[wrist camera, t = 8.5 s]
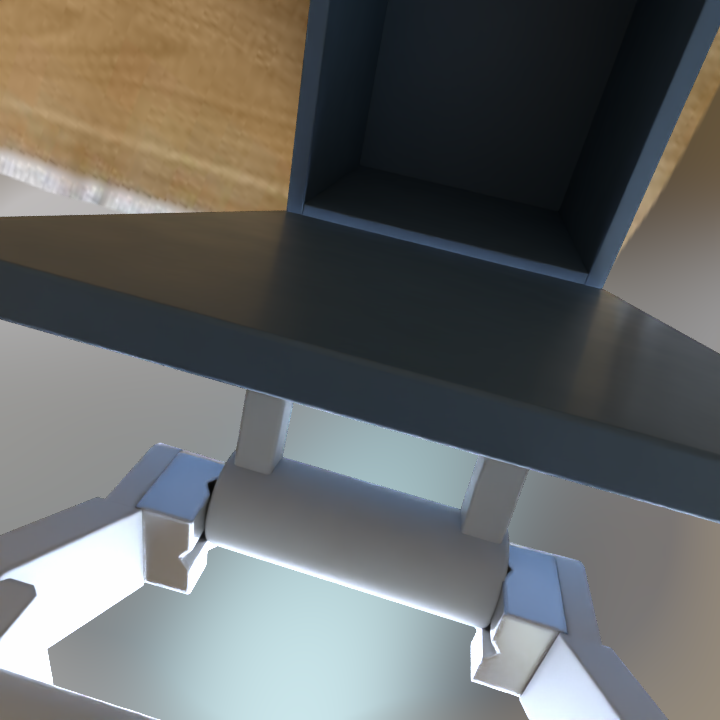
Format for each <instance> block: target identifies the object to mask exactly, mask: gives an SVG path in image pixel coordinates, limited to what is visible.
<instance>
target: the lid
mask: <svg viewBox="0 0 720 720" xmlns="http://www.w3.org/2000/svg"><path fill="white" fill-rule="evenodd" d="M0 319H1V320H5V321H8V322H11V323H15V324H19V325H22V326H26V327H29V328H33V329H36V330H40V331H43V332H47V333H50V334H54V335H57V336H61V337H64V338H68V339H71V340H75V341H78V342H82V343H86V344H89V345H93V346H96V347H100V348H103V349H107V350H110V351H114V352H117V353H121V354H124V355H128V356H131V357H135V358H138V359H142V360H145V361H149V362H152V363H156V364H159V365H163V366H167V367H170V368H174V369H177V370H181V371H185V372H188V373H191V374H195V375H198V376H202V377H205V378H209V379H212V380H216V381H219V382H223V383H227V384H230V385H234V386H237V387H240V388H244V389H247V390H246V395H245V401H244V407H243V413H242V419H241V425H240V430H239V437H238V442H237V448H236V450H235V451H234V452H233V453H232V455H231V456H230V457H229V459H228V461H227V462H226V463H225V465H224V467H223V469H222V471H221V473H220V475H219V477H218V479H217V481H216V484H215V486H214V489H213V492H212V495H211V498H210V502H209V506H208V510H207V515H206V522H205V537H206V539H207V541H209V542H210V543H211V544H213V545H217V546H220V547H223V548H226V549H229V550H232V551H236V552H239V553H242V554H245V555H248V556H252V557H255V558H258V559H261V560H265V561H268V562H270V563H274V564H277V565H280V566H283V567H287V568H290V569H293V570H296V571H299V572H302V573H306V574H308V575H312V576H315V577H318V578H321V579H324V580H327V581H331V582H334V583H337V584H340V585H344V586H347V587H350V588H353V589H356V590H359V591H363V592H366V593H369V594H372V595H375V596H378V597H381V598H385V599H388V600H391V601H394V602H398V603H401V604H404V605H407V606H410V607H413V608H416V609H419V610H423V611H426V612H429V613H432V614H435V615H439V616H442V617H445V618H448V619H451V620H454V621H457V622H461V623H464V624H467V625H470V626H474V627H476V628H486V627H487V626H488V625H489V624H490V619H491V617H492V615H493V613H494V610H495V608H496V605H497V602H498V598H499V595H500V591H501V587H502V582H503V581H505V579H506V576H507V570H508V563H509V535H508V529H507V528H508V526H509V523H510V520H511V517H512V515H513V512H514V509H515V507H516V504H517V501H518V498H519V496H520V493H521V490H522V487H523V485H524V482H525V480H526V476H527V474H528V471H529V470H533V471H537V472H540V473H544V474H547V475H551V476H554V477H558V478H561V479H565V480H569V481H572V482H576V483H579V484H582V485H586V486H589V487H593V488H596V489H600V490H604V491H607V492H611V493H614V494H618V495H621V496H625V497H628V498H632V499H635V500H639V501H642V502H646V503H650V504H653V505H656V506H660V507H664V508H667V509H670V510H674V511H678V512H681V513H685V514H688V515H692V516H696V517H699V518H702V519H706V520H710V521H713V522H716V523H720V354H719V353H717V352H715V351H714V350H712V349H710V348H708V347H706V346H704V345H703V344H701V343H699V342H697V341H696V340H694V339H692V338H690V337H688V336H687V335H685V334H683V333H681V332H679V331H678V330H676V329H674V328H672V327H670V326H669V325H667V324H665V323H663V322H661V321H660V320H658V319H656V318H654V317H652V316H651V315H649V314H647V313H645V312H643V311H641V310H640V309H638V308H636V307H634V306H633V305H631V304H629V303H627V302H625V301H624V300H622V299H620V298H618V297H616V296H615V295H613V294H611V293H609V292H607V291H606V290H603V289H600V288H596V287H592V286H588V285H584V284H580V283H576V282H572V281H568V280H564V279H560V278H556V277H552V276H547V275H543V274H539V273H535V272H531V271H527V270H523V269H519V268H515V267H511V266H507V265H503V264H499V263H495V262H491V261H487V260H483V259H479V258H475V257H471V256H467V255H463V254H459V253H455V252H451V251H446V250H442V249H438V248H434V247H430V246H426V245H422V244H418V243H414V242H410V241H406V240H402V239H398V238H394V237H390V236H386V235H382V234H378V233H374V232H370V231H366V230H362V229H358V228H354V227H349V226H345V225H341V224H337V223H333V222H329V221H325V220H321V219H317V218H313V217H309V216H305V215H301V214H297V213H293V212H289V211H240V212H196V213H151V214H111V215H110V214H107V215H63V216H21V217H20V216H19V217H0ZM293 403H297V404H300V405H304V406H308V407H311V408H314V409H318V410H322V411H325V412H329V413H332V414H336V415H339V416H343V417H346V418H350V419H353V420H357V421H360V422H364V423H368V424H371V425H374V426H378V427H381V428H385V429H389V430H392V431H396V432H399V433H403V434H406V435H410V436H413V437H417V438H420V439H424V440H427V441H431V442H435V443H438V444H441V445H445V446H448V447H452V448H456V449H459V450H463V451H466V452H470V453H473V454H477V455H478V458H477V461H476V464H475V467H474V470H473V473H472V477H471V480H470V482H469V485H468V489H467V491H466V494H465V498H464V500H463V503H462V507H461V509H458V508H454V507H451V506H447V505H444V504H441V503H437V502H434V501H430V500H427V499H424V498H420V497H417V496H413V495H410V494H407V493H403V492H400V491H397V490H393V489H390V488H386V487H383V486H380V485H376V484H373V483H369V482H366V481H362V480H359V479H356V478H352V477H349V476H345V475H342V474H339V473H335V472H332V471H329V470H325V469H322V468H319V467H315V466H311V465H308V464H305V463H302V462H298V461H295V460H291V459H288V458H284V457H283V452H284V447H285V442H286V437H287V432H288V427H289V422H290V417H291V413H292V408H293Z"/></svg>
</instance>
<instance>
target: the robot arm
mask: <svg viewBox="0 0 720 720" xmlns="http://www.w3.org/2000/svg"><path fill="white" fill-rule="evenodd" d="M225 463H226V462H223V461H220V460H217V459H213V458H210V457H207V456H203V455H200V454H197V453H194V452H191V451H187V450H182V449H179V448H176V447H172V446H169V445H166V444H163V443H158V444H156V445H153V446H152V447H151V448H150V449H149V450H148V451H147V452H146V454H145V455H144V456H143V457H142V458H141V459H140V460H139V461H138V463H137V464H136V465H135V466H134V467H133V468H132V469H131V470H130V472H129V473H128V474H127V475H126V476H125V477H124V478H123V479H122V480H121V482H120V483H119V484H118V485H117V486H116V487H115V488H114V490H113V491H112V492H111V493H110V494H109V495H108V496H107V497H106V498H105V499H104V498H100V497H96V498H93V499H91V500H88V501H86V502H83V503H81V504H78V505H75V506H73V507H70V508H68V509H65V510H63V511H60V512H58V513H55V514H53V515H50V516H48V517H45V518H43V519H40V520H38V521H35V522H33V523H30V524H28V525H25V526H22V527H20V528H18V529H15V530H12V531H10V532H7V533H5V534H2V535H0V720H158V719H155V718H152V717H149V716H146V715H143V714H140V713H137V712H134V711H131V710H128V709H125V708H122V707H119V706H115V705H112V704H109V703H106V702H103V701H100V700H97V699H94V698H91V697H88V696H85V695H82V694H79V693H76V692H73V691H70V690H67V689H64V688H60V687H57V686H54V685H53V681H52V674H51V669H50V664H49V659H48V653H47V648H49V647H50V646H52V645H54V644H55V643H57V642H58V641H60V640H61V639H63V638H64V637H66V636H67V635H69V634H70V633H72V632H73V631H75V630H76V629H78V628H79V627H81V626H82V625H84V624H85V623H87V622H88V621H90V620H92V619H93V618H95V617H96V616H98V615H99V614H101V613H102V612H104V611H105V610H107V609H108V608H110V607H111V606H113V605H114V604H116V603H117V602H119V601H120V600H122V599H123V598H125V597H126V596H128V595H130V594H131V593H133V592H134V591H136V590H137V589H139V588H140V587H142V586H143V585H144V582H145V583H149V584H152V585H156V586H160V587H164V588H167V589H171V590H174V591H178V592H182V593H185V594H190V592H191V590H192V589H193V587H194V585H195V583H196V582H197V580H198V578H199V576H200V574H201V573H202V571H203V569H204V567H205V566H206V558H207V551H208V550H210V549H212V548H213V547H215V546H217V545H213V544H211V543H210V542H209V541H207V539H206V537H205V522H206V515H207V510H208V506H209V502H210V498H211V495H212V492H213V489H214V486H215V484H216V481H217V479H218V477H219V475H220V473H221V471H222V469H223V467H224V465H225ZM475 628H476V627H475ZM476 629H477V633H476V635H475V637H474V639H473V641H472V644H471V681H474V682H477V683H480V684H483V685H486V686H489V687H491V688H495V689H497V690H501V691H503V692H507V693H509V694H513V695H515V696H518V697H520V699H519V700H520V702H521V704H522V706H523V708H524V710H525V712H526V714H527V716H528V718H529V720H668V719H667V717H666V716H665V715H664V714H663V712H662V711H661V710H660V709H659V708H658V706H657V705H656V704H655V702H654V701H653V700H652V699H651V697H650V696H649V695H648V693H647V692H646V691H645V690H644V688H642V686H641V685H640V683H639V682H638V681H637V680H636V678H635V677H634V676H633V675H632V673H631V672H630V671H629V670H628V668H627V667H626V666H625V665H624V663H623V662H622V661H621V660H620V658H619V657H618V656H617V655H616V653H615V652H614V651H613V649H612V648H610V647H607V646H604V645H602V641H601V638H600V633H599V629H598V624H597V620H596V615H595V611H594V606H593V603H592V598H591V594H590V590H589V585H588V580H587V576H586V572H585V567H584V565H583V564H582V563H581V561H578V560H574V559H571V558H567V557H563V556H559V555H555V554H550V553H547V552H544V551H540V550H536V549H533V548H529V547H525V546H522V545H518V544H515V543H511V542H509V563H508V570H507V576H506V579H505V581H503V582H502V587H501V591H500V595H499V598H498V602H497V605H496V608H495V610H494V613H493V615H492V617H491V619H490V624H489V625H488V626H487V627H486V628H476Z"/></svg>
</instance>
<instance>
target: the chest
mask: <svg viewBox="0 0 720 720" xmlns="http://www.w3.org/2000/svg"><path fill="white" fill-rule="evenodd" d="M719 26H720V0H310V7H309V15H308V24H307V33H306V42H305V51H304V60H303V69H302V78H301V87H300V96H299V104H298V113H297V122H296V131H295V140H294V149H293V158H292V167H291V176H290V184H289V193H288V202H287V211H289V212H293V213H297V214H301V215H305V216H309V217H313V218H317V219H321V220H325V221H329V222H333V223H337V224H341V225H345V226H349V227H354V228H358V229H362V230H366V231H370V232H374V233H378V234H382V235H386V236H390V237H394V238H398V239H402V240H406V241H410V242H414V243H418V244H422V245H426V246H430V247H434V248H438V249H442V250H446V251H451V252H455V253H459V254H463V255H467V256H471V257H475V258H479V259H483V260H487V261H491V262H495V263H499V264H503V265H507V266H511V267H515V268H519V269H523V270H527V271H531V272H535V273H539V274H543V275H547V276H552V277H556V278H560V279H564V280H568V281H572V282H576V283H580V284H584V285H588V286H592V287H596V288H600V289H602V288H603V286H604V283H605V281H606V279H607V276H608V275H609V272H610V270H611V268H612V266H613V263H614V261H615V259H616V257H617V254H618V252H619V250H620V248H621V246H622V243H623V241H624V239H625V237H626V234H627V232H628V230H629V228H630V225H631V223H632V221H633V219H634V216H635V214H636V212H637V210H638V208H639V205H640V203H641V201H642V199H643V196H644V194H645V192H646V190H647V187H648V185H649V183H650V181H651V178H652V176H653V174H654V172H655V170H656V167H657V165H658V163H659V161H660V158H661V156H662V154H663V152H664V149H665V147H666V145H667V143H668V140H669V138H670V136H671V134H672V132H673V129H674V127H675V125H676V123H677V120H678V118H679V116H680V114H681V111H682V109H683V107H684V105H685V102H686V100H687V98H688V96H689V93H690V91H691V89H692V87H693V85H694V82H695V80H696V78H697V76H698V73H699V71H700V69H701V67H702V64H703V62H704V60H705V58H706V55H707V53H708V51H709V49H710V47H711V44H712V42H713V40H714V38H715V35H716V33H717V31H718V29H719Z"/></svg>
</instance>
